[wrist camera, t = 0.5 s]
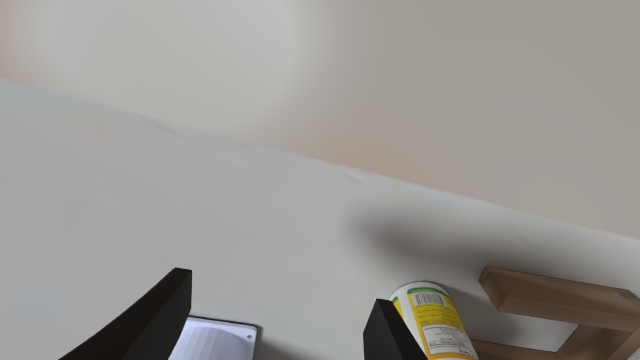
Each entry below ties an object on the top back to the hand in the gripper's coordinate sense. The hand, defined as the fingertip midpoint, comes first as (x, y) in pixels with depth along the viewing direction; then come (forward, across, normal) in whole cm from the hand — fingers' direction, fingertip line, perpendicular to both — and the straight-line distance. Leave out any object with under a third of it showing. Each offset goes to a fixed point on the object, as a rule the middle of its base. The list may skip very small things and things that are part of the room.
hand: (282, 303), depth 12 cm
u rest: (+10, -22, +9) cm, 25 cm away
